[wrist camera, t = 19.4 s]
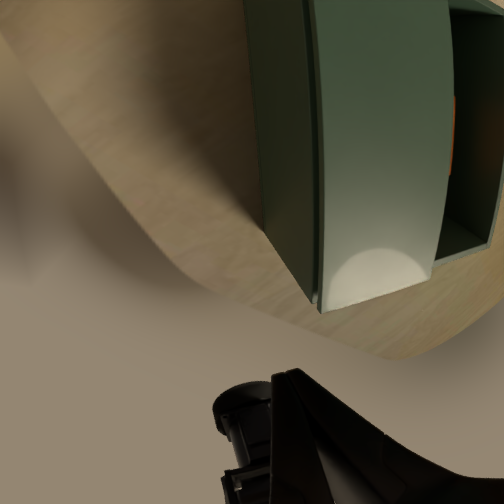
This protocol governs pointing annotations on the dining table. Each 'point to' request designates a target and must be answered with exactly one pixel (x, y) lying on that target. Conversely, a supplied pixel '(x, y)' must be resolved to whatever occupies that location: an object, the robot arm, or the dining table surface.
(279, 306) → the dining table surface
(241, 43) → the dining table surface
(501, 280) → the dining table surface
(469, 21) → the green storage bin
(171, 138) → the dining table surface
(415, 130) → the flap
